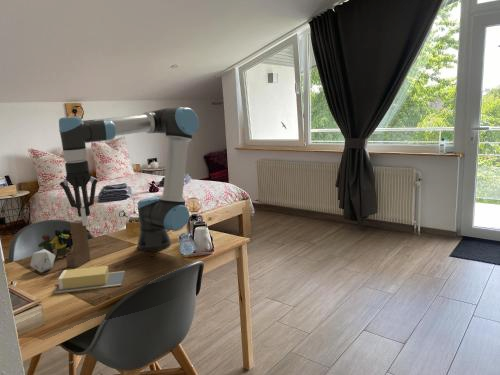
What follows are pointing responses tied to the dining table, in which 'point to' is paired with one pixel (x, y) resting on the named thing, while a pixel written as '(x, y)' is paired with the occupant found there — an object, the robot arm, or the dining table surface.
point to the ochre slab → (83, 277)
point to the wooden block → (78, 245)
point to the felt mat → (113, 281)
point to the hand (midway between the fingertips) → (85, 224)
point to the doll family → (59, 242)
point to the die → (42, 260)
